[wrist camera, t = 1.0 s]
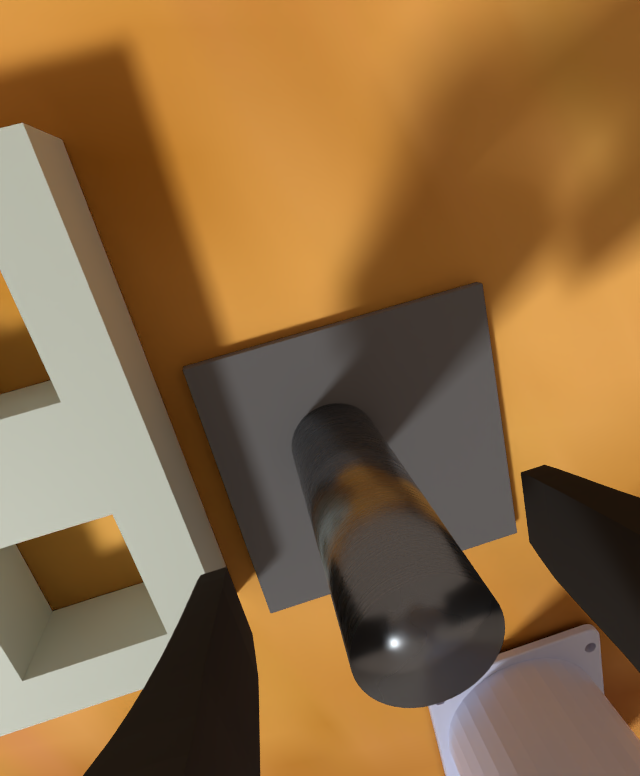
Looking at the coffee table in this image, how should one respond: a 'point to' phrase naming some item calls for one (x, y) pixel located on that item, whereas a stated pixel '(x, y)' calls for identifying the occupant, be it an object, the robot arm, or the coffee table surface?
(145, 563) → the socket block
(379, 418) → the rubber mat
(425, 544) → the steel peg
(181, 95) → the coffee table surface
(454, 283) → the coffee table surface
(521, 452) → the coffee table surface
